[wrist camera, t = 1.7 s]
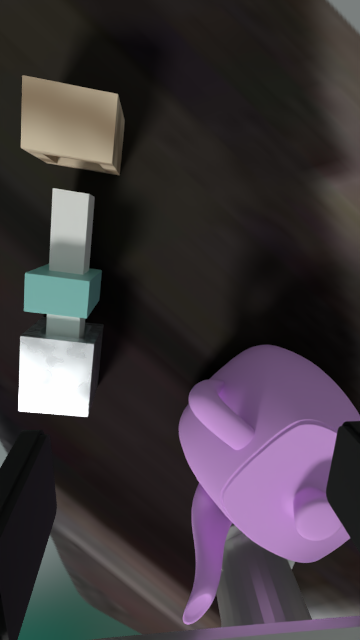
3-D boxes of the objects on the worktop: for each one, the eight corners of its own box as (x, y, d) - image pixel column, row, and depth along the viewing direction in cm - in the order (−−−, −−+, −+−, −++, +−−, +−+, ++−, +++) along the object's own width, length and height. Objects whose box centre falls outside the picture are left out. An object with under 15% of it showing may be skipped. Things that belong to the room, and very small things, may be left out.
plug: (92, 382, 36) (78, 418, 29) (45, 378, 35) (21, 413, 29) (108, 199, 31) (96, 192, 24) (54, 191, 30) (27, 181, 24)
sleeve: (97, 386, 36) (87, 416, 30) (40, 380, 35) (18, 411, 30) (103, 324, 34) (94, 344, 29) (42, 316, 34) (20, 336, 28)
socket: (119, 175, 31) (111, 163, 25) (47, 163, 30) (20, 147, 24) (124, 120, 30) (118, 94, 24) (49, 106, 29) (22, 75, 23)
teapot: (235, 287, 35) (296, 332, 20) (358, 407, 40) (476, 511, 25) (91, 435, 38) (55, 565, 23) (222, 528, 43) (258, 681, 29)
